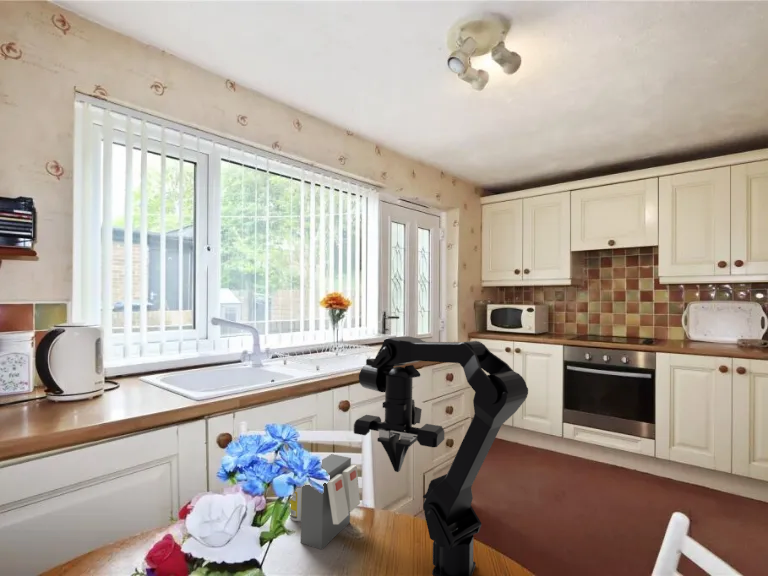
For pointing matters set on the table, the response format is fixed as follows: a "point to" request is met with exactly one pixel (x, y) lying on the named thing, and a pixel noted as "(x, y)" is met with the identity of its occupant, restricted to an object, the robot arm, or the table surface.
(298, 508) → the supplement bottle
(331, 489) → the block
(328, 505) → the switch box
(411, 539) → the table surface
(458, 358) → the robot arm
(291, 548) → the table surface
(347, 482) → the block
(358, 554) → the table surface
